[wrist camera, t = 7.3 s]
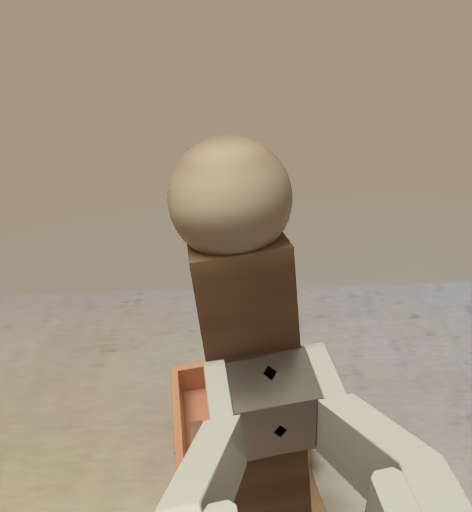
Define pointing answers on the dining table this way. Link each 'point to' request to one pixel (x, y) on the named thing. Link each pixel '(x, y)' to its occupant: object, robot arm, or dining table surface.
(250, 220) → the lever
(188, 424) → the pink shallow hollow tray
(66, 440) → the dining table surface
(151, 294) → the dining table surface
